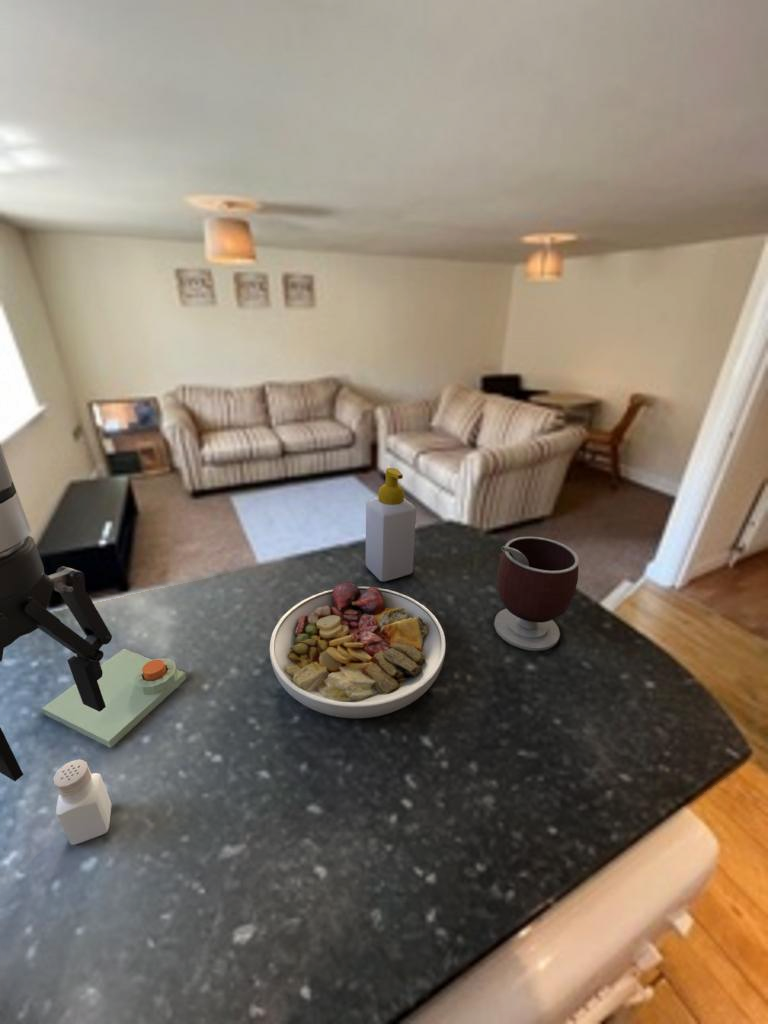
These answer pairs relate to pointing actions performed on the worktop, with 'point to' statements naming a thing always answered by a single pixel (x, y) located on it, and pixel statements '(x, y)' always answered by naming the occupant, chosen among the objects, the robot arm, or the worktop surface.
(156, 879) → the worktop surface
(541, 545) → the mate gourd
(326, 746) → the worktop surface
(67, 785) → the pepper shaker
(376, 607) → the bowl
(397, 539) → the soap bottle
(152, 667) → the button
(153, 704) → the scale
